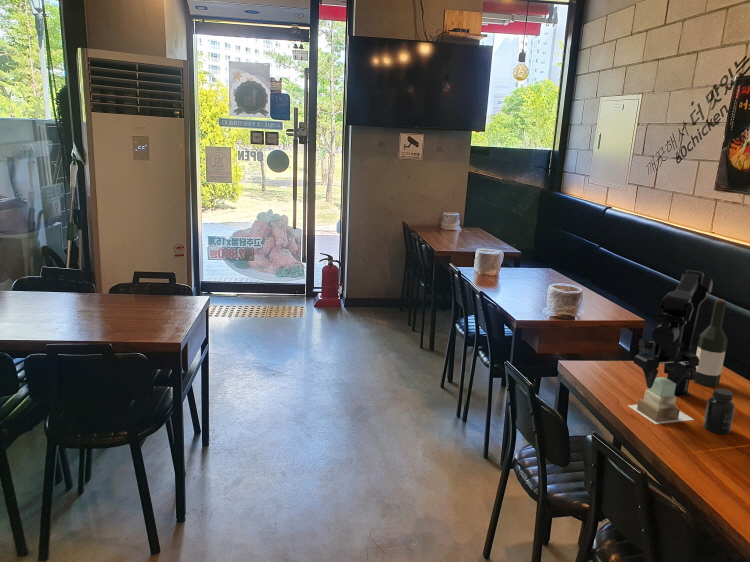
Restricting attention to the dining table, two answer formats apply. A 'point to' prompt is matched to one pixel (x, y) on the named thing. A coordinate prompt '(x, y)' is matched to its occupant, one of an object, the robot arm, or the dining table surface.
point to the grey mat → (681, 418)
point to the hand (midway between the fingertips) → (661, 386)
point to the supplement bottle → (719, 412)
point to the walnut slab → (657, 412)
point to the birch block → (659, 400)
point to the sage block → (663, 387)
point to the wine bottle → (712, 348)
